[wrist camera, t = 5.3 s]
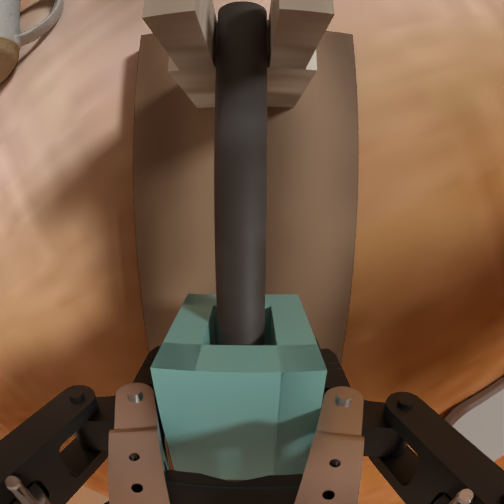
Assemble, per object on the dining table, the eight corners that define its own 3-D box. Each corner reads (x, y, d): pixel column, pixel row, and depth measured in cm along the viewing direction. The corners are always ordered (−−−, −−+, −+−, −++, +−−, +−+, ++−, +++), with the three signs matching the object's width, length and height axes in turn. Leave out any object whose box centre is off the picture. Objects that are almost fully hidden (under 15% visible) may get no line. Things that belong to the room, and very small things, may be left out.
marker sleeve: (298, 294, 13) (326, 370, 7) (290, 388, 14) (306, 477, 9) (188, 293, 13) (150, 367, 7) (196, 387, 14) (175, 475, 9)
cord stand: (345, 44, 15) (433, -66, 4) (303, 503, 24) (314, 589, 13) (148, 44, 15) (56, -61, 4) (190, 502, 24) (177, 587, 13)
